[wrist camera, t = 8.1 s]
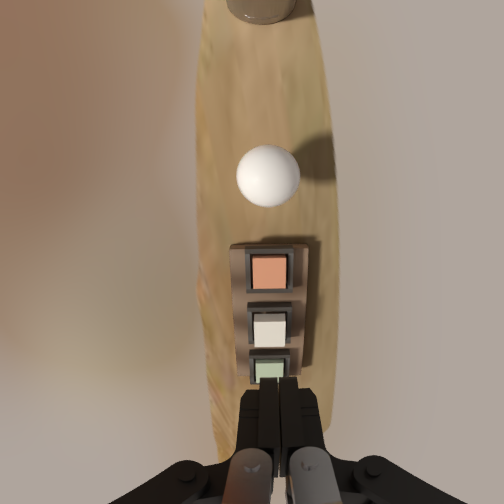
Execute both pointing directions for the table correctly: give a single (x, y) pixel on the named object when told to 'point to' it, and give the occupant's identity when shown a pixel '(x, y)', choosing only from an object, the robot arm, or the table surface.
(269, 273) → the terracotta button
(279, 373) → the sage button
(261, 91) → the table surface
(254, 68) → the table surface
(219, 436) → the table surface
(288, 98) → the table surface
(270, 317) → the offwhite button
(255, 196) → the lightbulb
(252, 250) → the button board
